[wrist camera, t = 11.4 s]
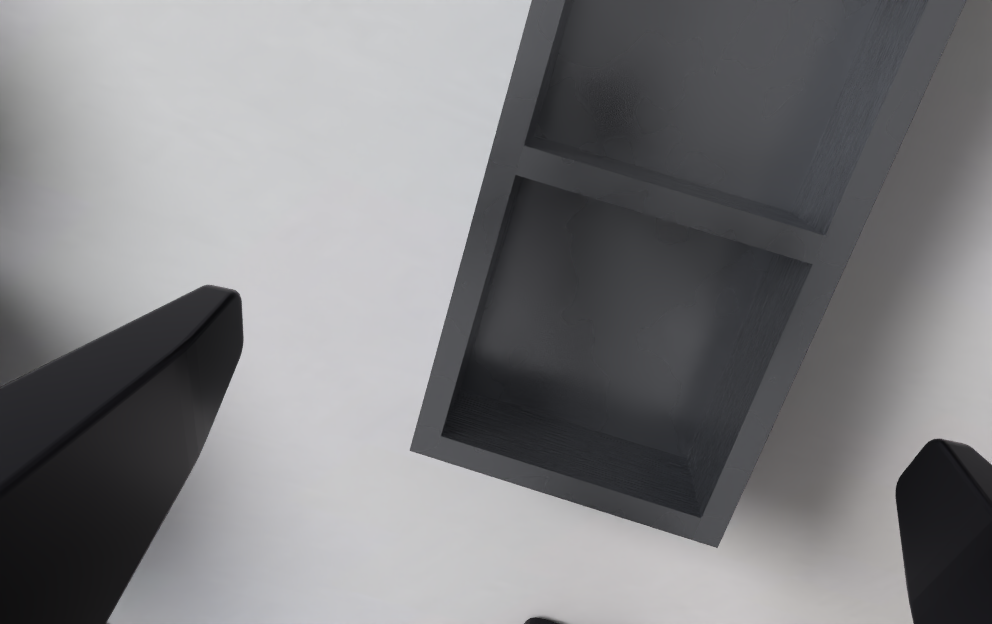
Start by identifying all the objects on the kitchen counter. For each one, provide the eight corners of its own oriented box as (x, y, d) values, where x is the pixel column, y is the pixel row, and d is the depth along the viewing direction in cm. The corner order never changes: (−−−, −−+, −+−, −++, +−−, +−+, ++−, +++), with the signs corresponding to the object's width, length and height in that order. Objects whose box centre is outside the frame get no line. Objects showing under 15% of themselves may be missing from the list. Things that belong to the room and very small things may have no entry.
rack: (706, 474, 23) (728, 551, 20) (439, 391, 24) (409, 450, 20) (1126, -499, 15) (1297, -685, 12) (716, -605, 16) (754, -820, 12)
